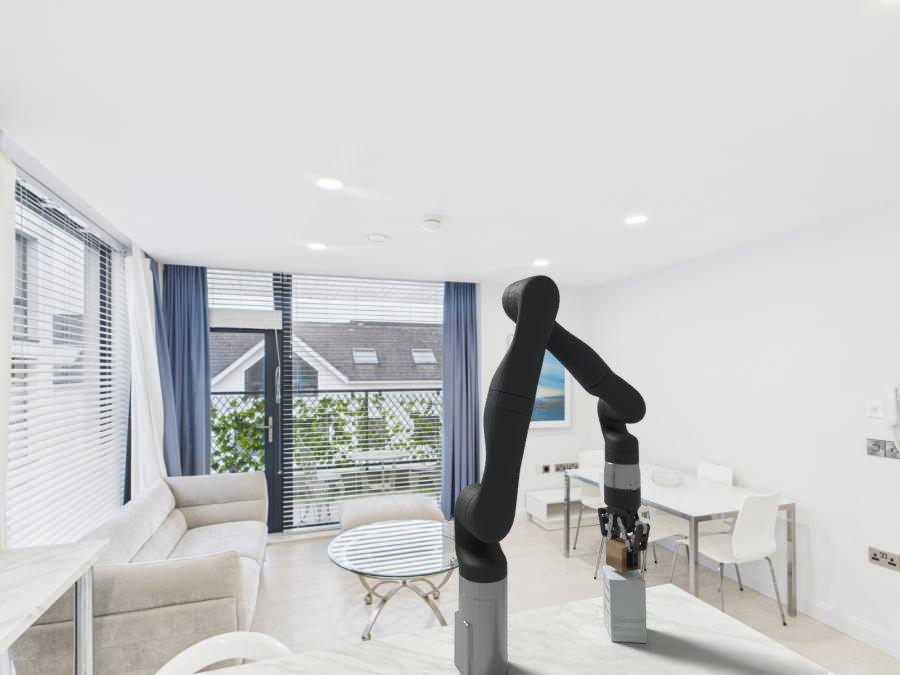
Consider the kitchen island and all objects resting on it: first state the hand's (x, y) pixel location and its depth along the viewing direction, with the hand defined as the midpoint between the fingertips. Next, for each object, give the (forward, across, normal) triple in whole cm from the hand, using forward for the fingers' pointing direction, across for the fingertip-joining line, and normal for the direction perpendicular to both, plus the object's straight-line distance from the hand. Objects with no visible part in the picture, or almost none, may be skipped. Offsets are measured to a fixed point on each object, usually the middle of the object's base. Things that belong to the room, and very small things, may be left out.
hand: (623, 563), depth 105 cm
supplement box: (+15, 0, 0) cm, 15 cm away
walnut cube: (+1, 0, 0) cm, 1 cm away
